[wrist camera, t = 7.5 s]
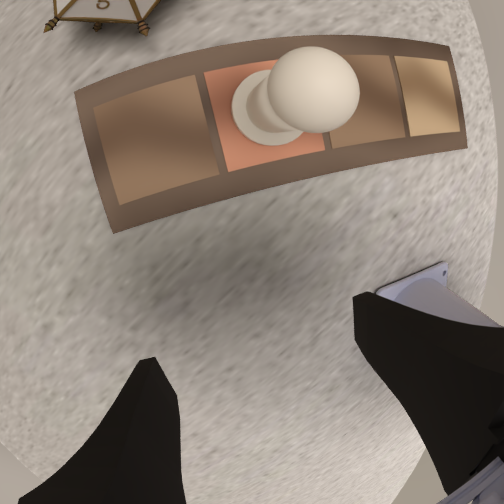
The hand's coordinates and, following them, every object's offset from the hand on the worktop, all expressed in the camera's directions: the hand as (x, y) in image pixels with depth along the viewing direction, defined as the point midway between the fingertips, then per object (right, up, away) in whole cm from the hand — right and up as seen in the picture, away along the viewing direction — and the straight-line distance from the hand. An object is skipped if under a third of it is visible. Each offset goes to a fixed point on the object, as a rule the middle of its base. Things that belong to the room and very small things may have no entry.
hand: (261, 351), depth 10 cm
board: (+4, +12, +6) cm, 14 cm away
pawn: (+1, +12, +6) cm, 13 cm away
